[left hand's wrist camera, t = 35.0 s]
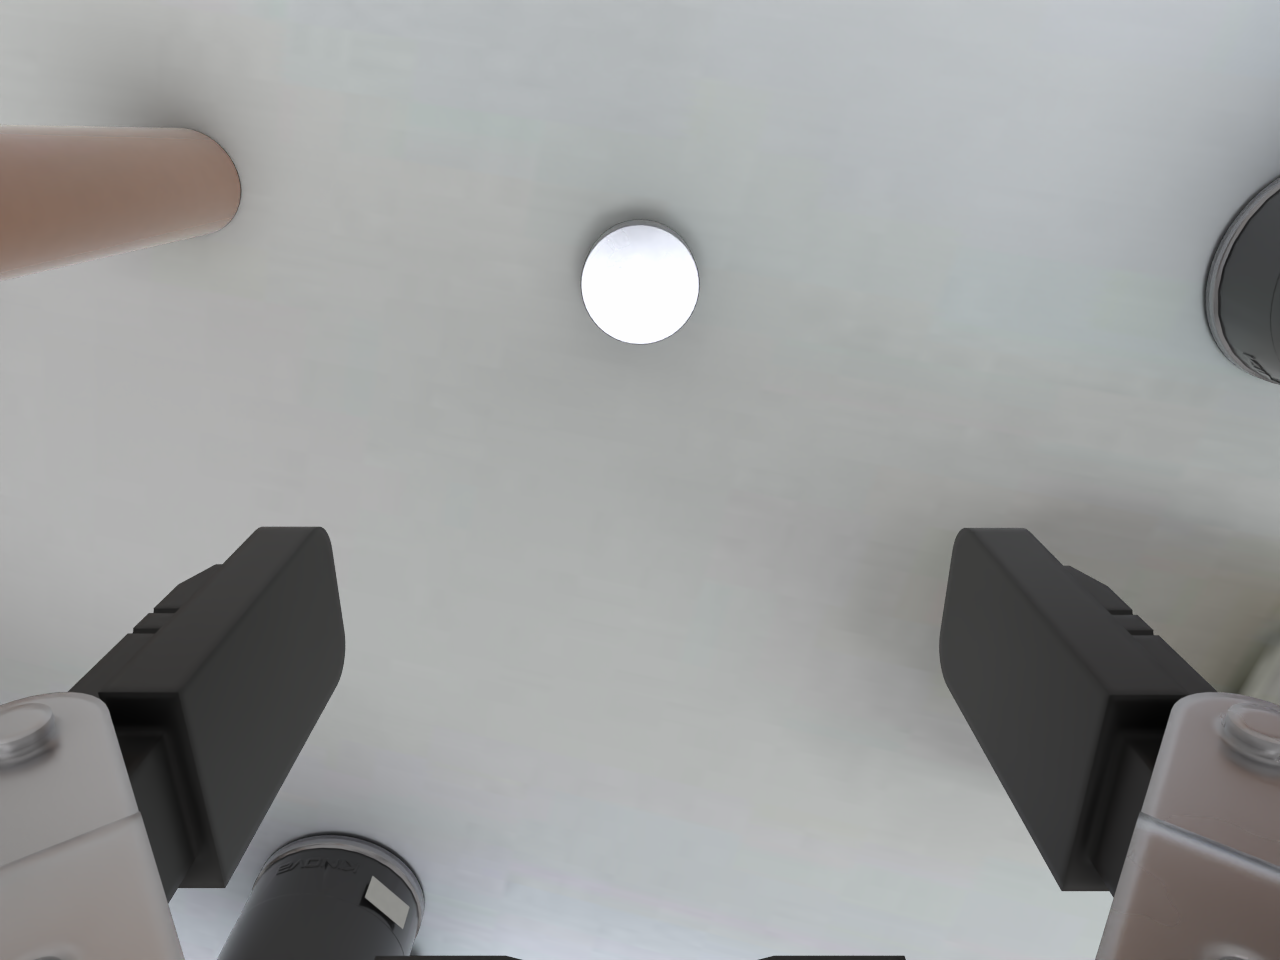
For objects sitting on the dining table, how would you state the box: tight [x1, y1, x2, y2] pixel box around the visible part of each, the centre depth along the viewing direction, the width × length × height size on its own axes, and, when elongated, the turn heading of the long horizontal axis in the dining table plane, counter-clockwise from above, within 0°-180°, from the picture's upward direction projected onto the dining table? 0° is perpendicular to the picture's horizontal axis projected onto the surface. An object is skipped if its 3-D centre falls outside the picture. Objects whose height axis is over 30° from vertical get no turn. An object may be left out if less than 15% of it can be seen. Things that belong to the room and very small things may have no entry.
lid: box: [581, 219, 700, 345], centre depth 35 cm, size 5×5×2 cm
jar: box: [0, 125, 241, 281], centre depth 27 cm, size 4×4×16 cm
